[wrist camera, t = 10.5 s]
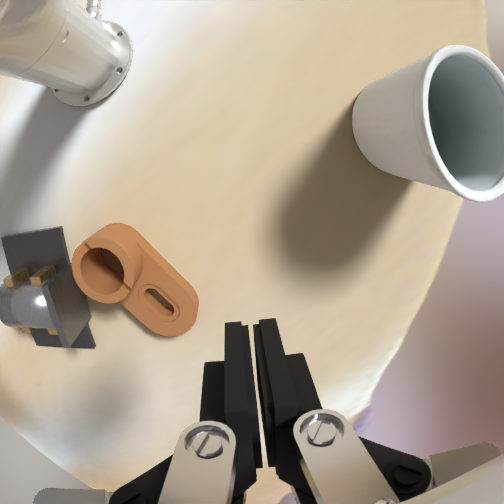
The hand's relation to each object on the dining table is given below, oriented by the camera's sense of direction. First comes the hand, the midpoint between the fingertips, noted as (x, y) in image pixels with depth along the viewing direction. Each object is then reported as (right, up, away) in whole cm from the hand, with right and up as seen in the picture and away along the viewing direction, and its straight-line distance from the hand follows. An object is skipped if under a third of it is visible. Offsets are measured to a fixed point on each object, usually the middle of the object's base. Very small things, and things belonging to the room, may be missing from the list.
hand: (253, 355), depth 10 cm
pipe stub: (-32, -3, +29) cm, 44 cm away
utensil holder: (+19, +21, +25) cm, 38 cm away
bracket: (-15, 0, +30) cm, 34 cm away
